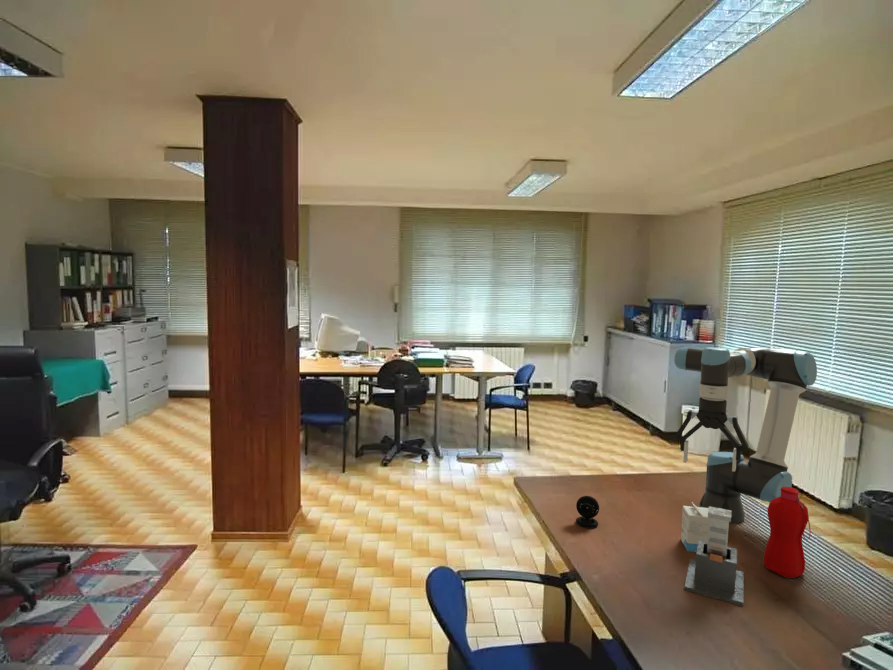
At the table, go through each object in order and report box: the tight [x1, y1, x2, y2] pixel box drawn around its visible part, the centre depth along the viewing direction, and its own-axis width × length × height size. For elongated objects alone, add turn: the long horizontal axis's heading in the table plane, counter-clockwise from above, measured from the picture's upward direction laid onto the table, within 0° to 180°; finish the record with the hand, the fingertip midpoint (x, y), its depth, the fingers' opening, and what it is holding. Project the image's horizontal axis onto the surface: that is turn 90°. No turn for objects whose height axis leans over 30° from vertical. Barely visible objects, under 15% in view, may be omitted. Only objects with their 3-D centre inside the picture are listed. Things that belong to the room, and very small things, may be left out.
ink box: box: [680, 501, 709, 553], centre depth 168 cm, size 9×8×13 cm
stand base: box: [683, 540, 745, 607], centre depth 147 cm, size 18×14×10 cm
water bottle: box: [762, 486, 812, 579], centre depth 153 cm, size 9×11×25 cm
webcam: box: [575, 495, 600, 529], centre depth 183 cm, size 8×8×10 cm
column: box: [707, 506, 731, 559], centre depth 146 cm, size 6×6×19 cm
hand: (709, 465), depth 163 cm, fingers open, 13 cm apart
